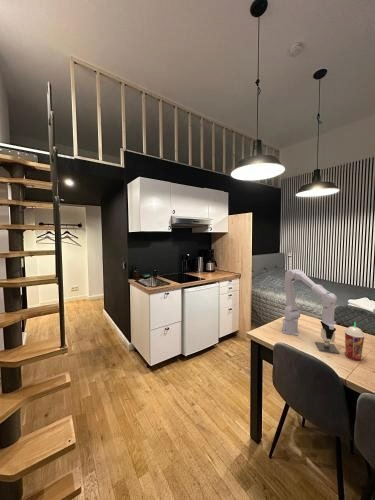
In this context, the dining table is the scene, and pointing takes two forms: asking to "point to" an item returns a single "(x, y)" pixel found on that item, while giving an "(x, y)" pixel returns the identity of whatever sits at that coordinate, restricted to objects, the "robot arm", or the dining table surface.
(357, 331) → the smoothie
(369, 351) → the dining table surface
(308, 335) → the dining table surface
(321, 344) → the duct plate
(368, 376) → the dining table surface
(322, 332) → the collar
